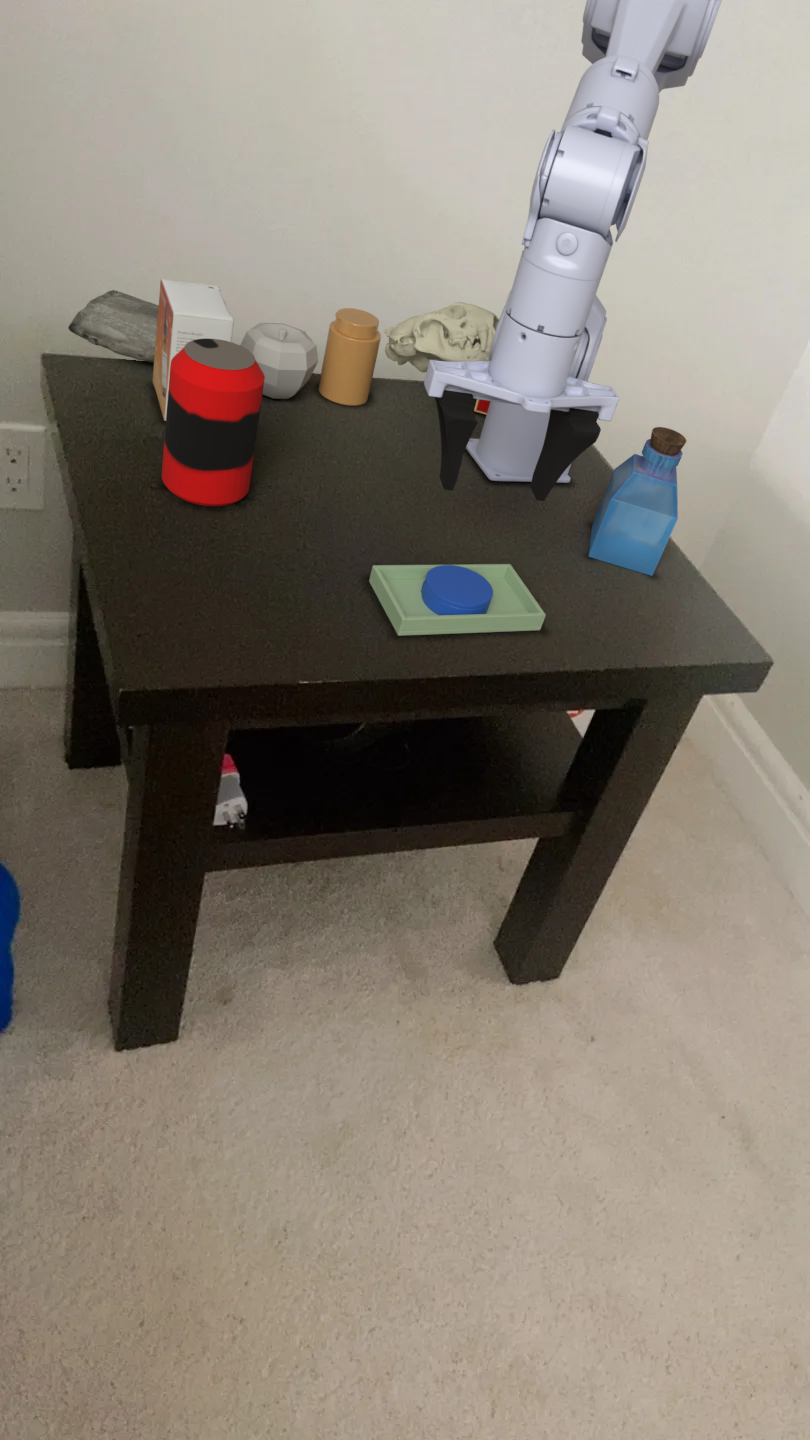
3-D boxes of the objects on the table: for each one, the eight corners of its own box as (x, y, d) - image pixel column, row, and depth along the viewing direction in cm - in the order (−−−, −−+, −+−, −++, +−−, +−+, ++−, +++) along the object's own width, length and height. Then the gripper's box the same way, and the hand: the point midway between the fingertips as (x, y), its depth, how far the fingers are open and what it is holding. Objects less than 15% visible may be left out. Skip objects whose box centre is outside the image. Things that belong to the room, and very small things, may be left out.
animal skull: (366, 377, 118) (370, 309, 118) (417, 400, 125) (421, 335, 125) (471, 350, 108) (475, 275, 108) (520, 376, 115) (525, 306, 115)
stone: (243, 358, 113) (118, 321, 115) (246, 320, 111) (119, 284, 113) (196, 386, 104) (63, 347, 107) (198, 346, 102) (62, 307, 104)
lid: (416, 611, 84) (421, 594, 83) (423, 574, 88) (428, 558, 87) (485, 629, 84) (491, 612, 83) (489, 591, 89) (494, 575, 87)
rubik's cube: (521, 424, 116) (536, 377, 113) (473, 411, 116) (487, 363, 113) (524, 405, 121) (538, 359, 117) (478, 392, 120) (491, 346, 117)
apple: (327, 401, 110) (338, 340, 105) (272, 415, 104) (281, 352, 100) (275, 369, 113) (284, 308, 109) (219, 381, 108) (226, 318, 103)
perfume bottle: (652, 575, 98) (703, 460, 90) (588, 556, 98) (634, 439, 90) (652, 544, 102) (702, 432, 95) (592, 525, 102) (636, 412, 95)
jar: (356, 382, 115) (371, 307, 110) (375, 406, 112) (392, 329, 107) (311, 381, 113) (324, 304, 108) (329, 405, 110) (343, 326, 104)
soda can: (216, 457, 96) (231, 329, 88) (265, 498, 93) (285, 369, 85) (144, 471, 91) (153, 338, 84) (193, 515, 88) (207, 380, 80)
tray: (505, 579, 91) (510, 563, 90) (540, 630, 87) (546, 614, 86) (368, 581, 86) (372, 565, 85) (397, 635, 82) (402, 619, 81)
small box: (151, 383, 104) (159, 276, 98) (208, 387, 106) (219, 283, 100) (162, 422, 99) (171, 312, 92) (221, 426, 101) (234, 318, 94)
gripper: (459, 327, 69) (413, 506, 78) (655, 359, 73) (591, 525, 82) (438, 287, 74) (397, 459, 83) (623, 318, 78) (565, 479, 87)
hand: (492, 489), depth 83 cm, fingers open, 7 cm apart
